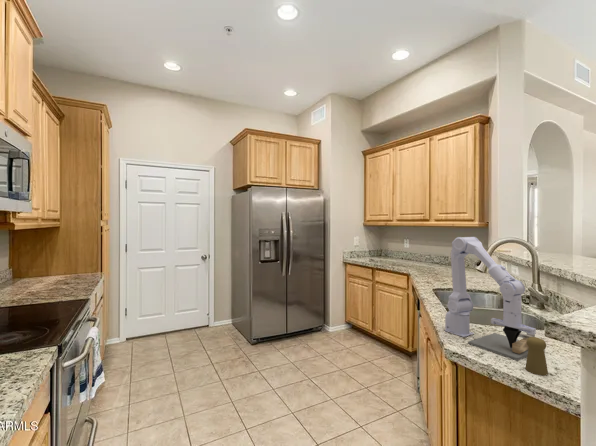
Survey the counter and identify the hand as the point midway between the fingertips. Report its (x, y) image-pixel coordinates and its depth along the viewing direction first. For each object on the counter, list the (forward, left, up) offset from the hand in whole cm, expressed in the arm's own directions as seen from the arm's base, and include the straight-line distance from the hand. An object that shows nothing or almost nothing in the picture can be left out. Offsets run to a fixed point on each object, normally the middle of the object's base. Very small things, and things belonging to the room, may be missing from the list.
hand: (512, 347), depth 115 cm
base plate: (-4, +4, -2) cm, 6 cm away
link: (+2, +5, -1) cm, 6 cm away
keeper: (+2, +6, -1) cm, 7 cm away
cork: (+12, -9, -2) cm, 15 cm away
